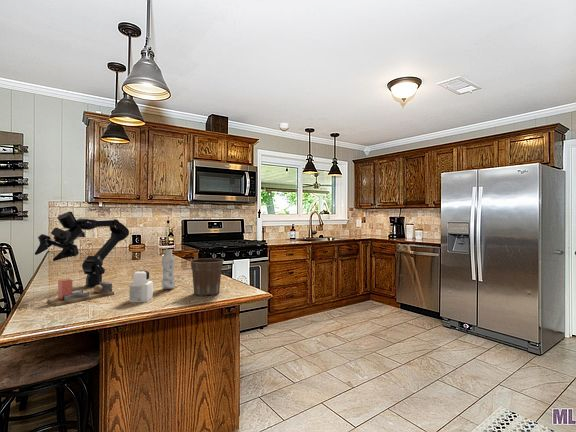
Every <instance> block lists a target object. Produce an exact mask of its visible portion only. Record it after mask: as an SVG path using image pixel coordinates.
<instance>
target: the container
mask: <svg viewBox="0 0 576 432" xmlns="http://www.w3.org/2000/svg"><path fill="white" fill-rule="evenodd" d="M132 274H133V275H132V277H133V279H132V280H133V283H130V284H129V285H128V286H129V293H128V294H129V298H128V299H129V303H147V302H149V301H150V300H152V299H153V297H154V294H153V293H154V292H153V288H154V287H153V285H154V283H153V281H152V280H150V272H149V271H148V270H142V269H141V270H136V271H133V273H132Z"/></svg>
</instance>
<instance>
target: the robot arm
mask: <svg viewBox="0 0 576 432" xmlns="http://www.w3.org/2000/svg"><path fill="white" fill-rule="evenodd" d="M56 218H57V221H58V222H59V223H60V225H61V226H62V227H63V229H61V228H59V227H55V226H54V228H53V229H52V230H51V232H50V235H52V236H53V239H54V240H53V239H52V238H51V236H50V235H47V234H40V235H38V236H37V239H38V241H39V245H38V247H37V249H36V250H35V252H34V255H35V256H37V255H40V254H42V253H43V252H45V251H47V250H48V249H49V248H50V247H52V246H54V247H57V248H58V249H62V250H61V251H60V252H59V253H57V254H56V255H55V256H54V257H53V258H52V261H53V262H55V261H59V260H63V259H66V258H73V257H74V258H76V257H77V256H78V255H79V253H80V251H79V247H78V245H77V244H75V241H76V240H77V239H78V238H85V237H86V235H85V233H86V232H85V230H86V231H90V230H94V229H96V228H101V227H102V228H103V227H109V231H110V232H111V233H110V238H108V239H107V241H106V242H105V243H104V244H103V245H102V247H100V248H99V249H98V251H97V252H96V253H95V254H94V255H87V256H86V258H85V259H84V260H83V262H82V264H81V266H82V270H83V273H84V275H86V278H85V284H84V285H85V286H86V287H88V288H94V287H95V286H96V285H99V282H103V275H105V272H106V269H105V268H104V267H103V265H104V264H103V263H104V259H106V258H107V256H108V255H109V254H110V253H111V251H112V250H113V249H115V247H116V246H117V245H118V244H119V242H122V241H123V240H125V239H126V238H128V236H129V235H130V230H129V229H128V228H127V227H126V226H125V225H124V224H123V223H121V222H120V221H119V219H117V218H109V219H94V218H78V219H76V217H75V215H74V213H73V212H72V211H67V212H64V213H62V214H59V215H58V216H57V217H56ZM64 229H67V230H64Z"/></svg>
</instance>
